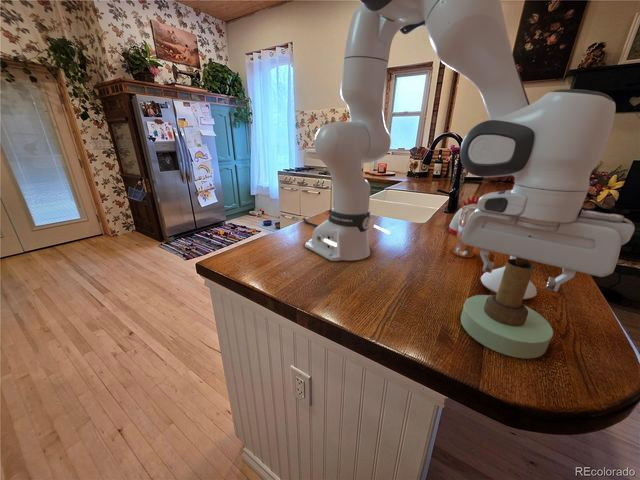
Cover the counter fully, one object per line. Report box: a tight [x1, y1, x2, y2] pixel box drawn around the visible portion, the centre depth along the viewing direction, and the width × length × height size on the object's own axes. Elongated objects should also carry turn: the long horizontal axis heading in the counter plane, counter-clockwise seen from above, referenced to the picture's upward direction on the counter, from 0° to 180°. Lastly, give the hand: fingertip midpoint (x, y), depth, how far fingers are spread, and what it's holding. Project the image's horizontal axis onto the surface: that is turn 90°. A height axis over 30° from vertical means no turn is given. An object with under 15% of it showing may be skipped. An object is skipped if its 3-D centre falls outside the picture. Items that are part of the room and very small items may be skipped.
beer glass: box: [452, 206, 478, 258], centre depth 81 cm, size 7×7×15 cm
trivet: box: [460, 294, 554, 359], centre depth 50 cm, size 14×14×4 cm
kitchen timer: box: [448, 195, 480, 236], centre depth 101 cm, size 14×14×15 cm
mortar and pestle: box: [484, 235, 536, 326], centre depth 46 cm, size 7×6×18 cm
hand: (517, 279), depth 46 cm, fingers open, 8 cm apart
